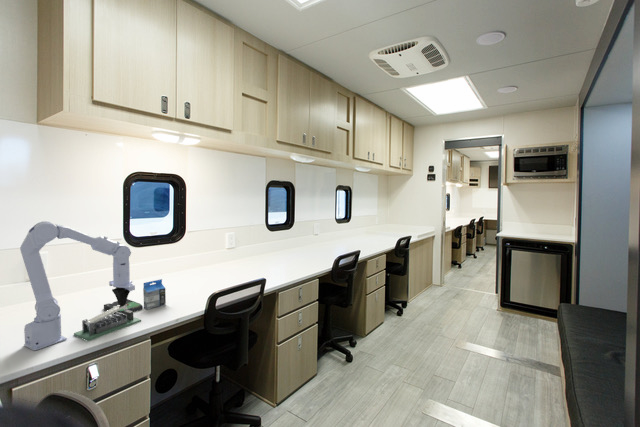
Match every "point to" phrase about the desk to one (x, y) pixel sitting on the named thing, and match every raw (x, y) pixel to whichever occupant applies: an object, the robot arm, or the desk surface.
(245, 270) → the desk surface
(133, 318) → the board
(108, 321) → the heat sink
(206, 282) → the desk surface
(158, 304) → the label tape box
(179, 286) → the desk surface
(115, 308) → the strap
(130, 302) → the disk drive
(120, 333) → the desk surface
